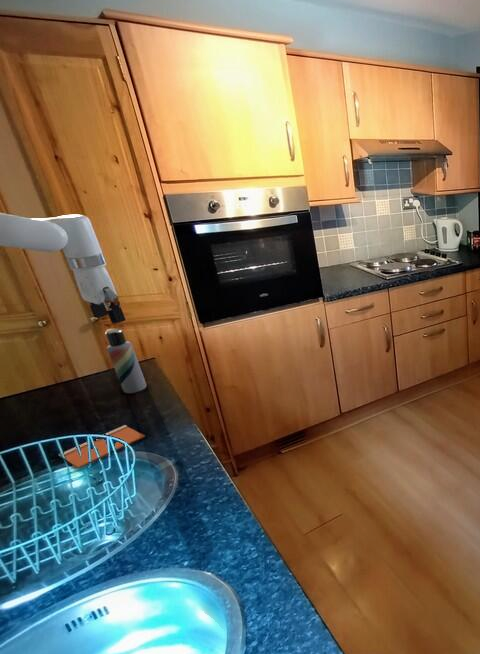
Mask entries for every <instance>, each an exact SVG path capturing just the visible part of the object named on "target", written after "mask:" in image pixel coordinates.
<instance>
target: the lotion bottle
mask: <svg viewBox="0 0 480 654" xmlns="http://www.w3.org/2000/svg"><path fill="white" fill-rule="evenodd" d="M104 334H105V337H106V339H107V341H108V344H109V345H107V346H106V351H107V353H108V356H109V358H110V361H111V363H112V366H113V368H114V371H115V373H116V376H117V379H118V380H119V384H120V386H121V389H122V390H123V393H126V394H135V393H138V392H141V391H143V390H145V389H146V388H147V382H146V379H145V377H144V373H143V371H142V369H141V366H140V363H139V361H138V358H137V355H136V353H135V350H134V347H133V345H132V343H131V341H129V340H126V337H125V335H124V332H123V330H122V328H118V327H117V328H116V327H115V328H110V329H107V330H106V331H105V333H104Z"/></svg>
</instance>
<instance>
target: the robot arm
mask: <svg viewBox="0 0 480 654" xmlns="http://www.w3.org/2000/svg"><path fill="white" fill-rule="evenodd" d="M0 246H1V247H7V248H15V249H23V250H29V251H35V252H44V253H55V252H59V251H61V250H62V252H63V254H64V256H65V258H66V261H67V263H68V265H69V268H70V270H71V271H72V272H73V276H74V279H75V282H76V285H77V288H78V291H79V294H80V296H81V298H82V300H83V301H85V302H87V303H88V305H89V308H90V310H91V313H92V316H93V317H94V318H95V319H99V318H103V317H106V316H108V318H109V320H110V322H111V324H112V325H115V324H116V325H117V324H119V323H123V322H125V321H126V317H125V315H124V314H125V313H124V311H123V309H122V305H121V302H120V299H119V296H118V294H117V291H116V288H115V286H114V283H113V281H112V279H111V277H110V275H109V272H108V271H107V268H106V266H107V262H106V259H105V256H104V253H103V250H102V248H101V245H100V243H99V240H98V237H97V235H96V231H95V229H94V228H93V224H92V223H91V219H90V218H89V217H87V216H86V215H84V214H67V215H60V216H56V217H47V218H46V217H45V218H29V217H23V216H20V215H13V214H8V213H4V212H3V213H2V212H0Z"/></svg>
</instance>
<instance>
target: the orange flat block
mask: <svg viewBox="0 0 480 654" xmlns="http://www.w3.org/2000/svg"><path fill="white" fill-rule="evenodd" d="M104 434H106V435H110V436H114V437H117V438H120V439H122V440H124V441H126V442H127V443H128V445H131V444H132V443H134V442H135V443H136V441H139V440H142V439H143V438H145V437H146V436H145V434H143V433H141V432H139V431H137V430H135V429H133V428H131V427H128V425H126V424H124V425H122V426H119V427H118V428H115V429H113V430H109V431H108V432H106V433H103V434H102V435H104ZM87 442H88V441H86V442H83V443H80V444H78V446H80V449H81V457H80V455H79V453H78V450H77V448H76V447H77V446H75V447H72V448H70V449H67V450H66V451H63V452H64V455H65V457H66V460H67V461H66V460H65V461H66V462H68V463H69V464H71V466H74V467H76V468H77V469H80V468H83V467H85V466H86V465H89V464H90V463H89V458H88V443H87ZM94 446H95V447H96V448H97V449H98V452H99V455H100V458H99V459H101V458H104V457H105V456H108V455H109V454H108V449H107V444H106V440H104V439H96V441H94ZM124 447H125V446H124V445H123V444H121V443H119V442H116V443H115V448H116V451H118V450H121V449H123V448H124ZM60 454H61V453H59V454H58V457H60V458H61V459H63V458H62V456H61V455H60ZM99 459H98V458H97V455H96V452H95V450H94V448H93V449H91V463H93V462H96V461H97V460H99Z"/></svg>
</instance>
